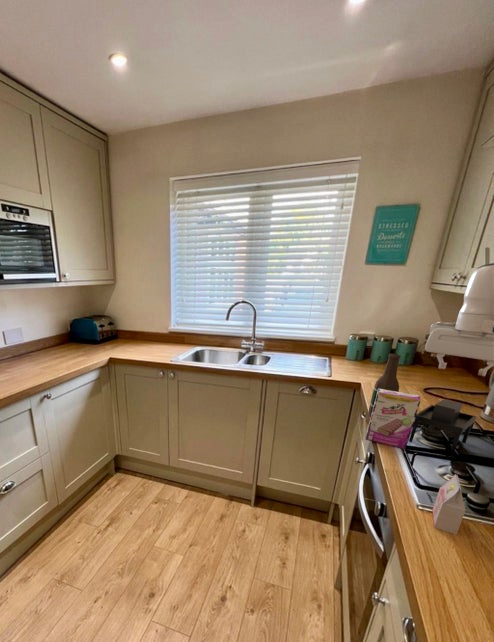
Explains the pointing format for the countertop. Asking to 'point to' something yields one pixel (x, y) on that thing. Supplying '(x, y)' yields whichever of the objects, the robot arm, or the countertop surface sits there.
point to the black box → (446, 411)
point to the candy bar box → (392, 418)
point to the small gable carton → (449, 506)
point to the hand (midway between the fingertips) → (460, 371)
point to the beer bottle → (387, 379)
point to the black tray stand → (445, 425)
